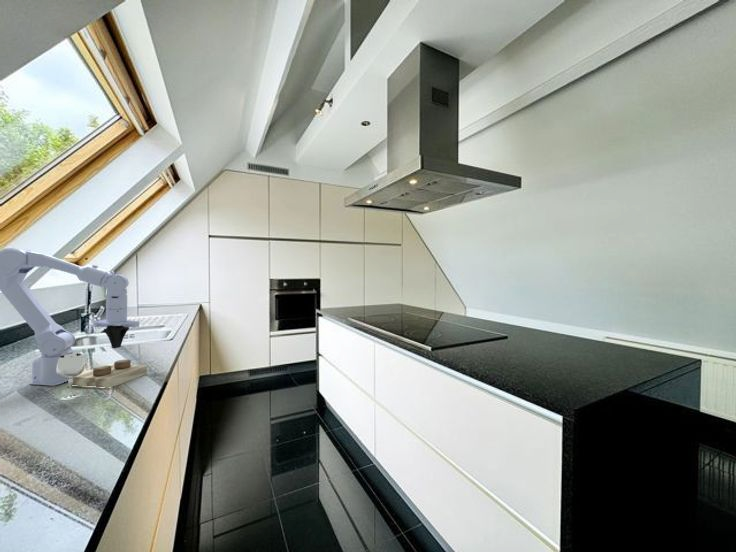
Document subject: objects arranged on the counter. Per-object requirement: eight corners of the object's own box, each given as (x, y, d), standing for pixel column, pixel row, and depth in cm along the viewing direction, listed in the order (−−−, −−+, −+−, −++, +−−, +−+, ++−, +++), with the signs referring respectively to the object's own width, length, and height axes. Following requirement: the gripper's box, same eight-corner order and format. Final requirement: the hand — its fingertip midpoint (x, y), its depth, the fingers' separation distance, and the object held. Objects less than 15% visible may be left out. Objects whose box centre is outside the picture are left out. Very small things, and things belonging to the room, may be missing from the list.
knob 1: (89, 384, 96) (89, 368, 95) (103, 379, 100) (103, 364, 100) (101, 385, 95) (101, 369, 95) (114, 380, 99) (114, 365, 99)
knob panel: (68, 386, 95) (68, 376, 95) (111, 371, 109) (111, 363, 109) (108, 388, 93) (108, 379, 93) (146, 373, 107) (146, 365, 107)
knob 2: (110, 377, 102) (110, 362, 102) (122, 373, 107) (122, 358, 107) (122, 378, 102) (122, 362, 102) (133, 373, 106) (134, 359, 106)
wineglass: (51, 399, 85) (51, 357, 85) (77, 392, 90) (77, 352, 90) (63, 403, 83) (63, 359, 83) (89, 395, 88) (89, 354, 88)
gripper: (85, 309, 102) (85, 350, 102) (128, 310, 102) (127, 350, 102) (103, 307, 109) (103, 345, 109) (143, 308, 109) (143, 345, 109)
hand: (116, 347), depth 106 cm, fingers closed
